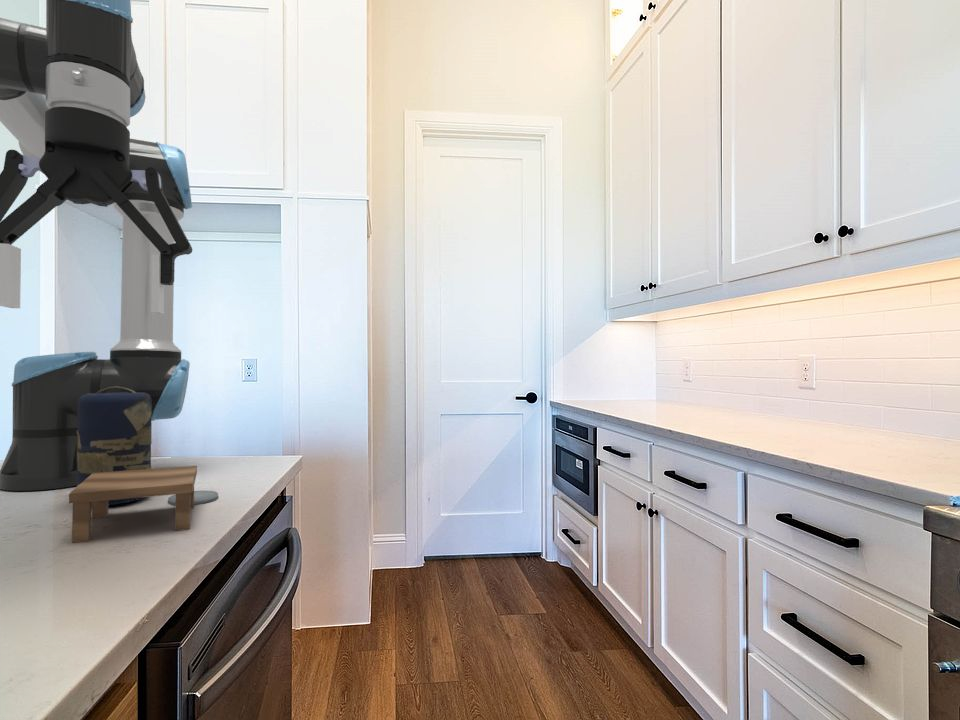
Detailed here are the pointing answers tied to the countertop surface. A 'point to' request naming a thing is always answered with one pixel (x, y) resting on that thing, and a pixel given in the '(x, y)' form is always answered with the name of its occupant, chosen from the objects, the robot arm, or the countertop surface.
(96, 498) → the step stool
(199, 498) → the slate coaster
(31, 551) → the countertop surface
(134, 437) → the canister
